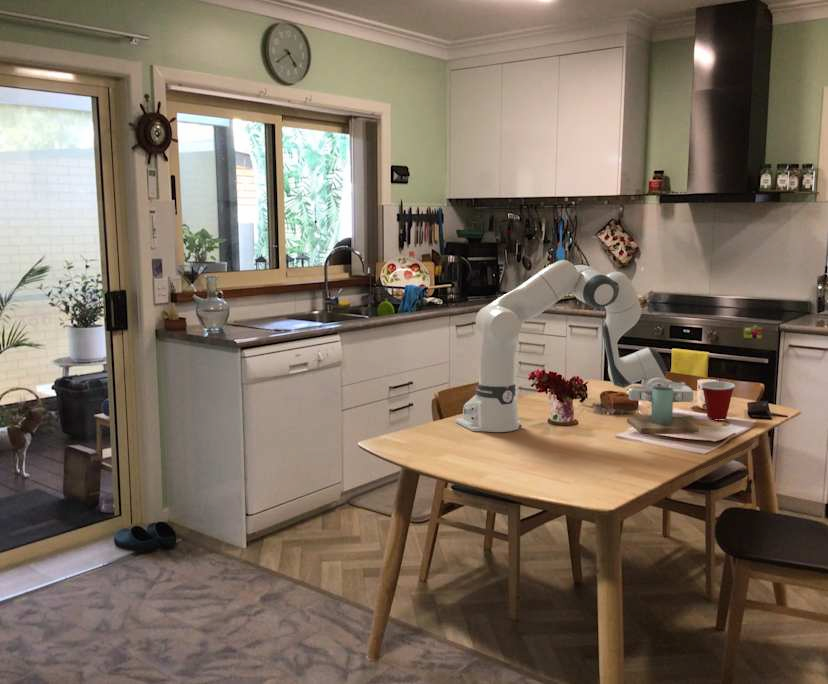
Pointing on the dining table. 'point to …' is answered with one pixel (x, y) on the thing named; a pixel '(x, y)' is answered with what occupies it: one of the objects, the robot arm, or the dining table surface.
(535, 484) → the dining table surface
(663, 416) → the green tin
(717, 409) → the plastic cup
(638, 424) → the board
